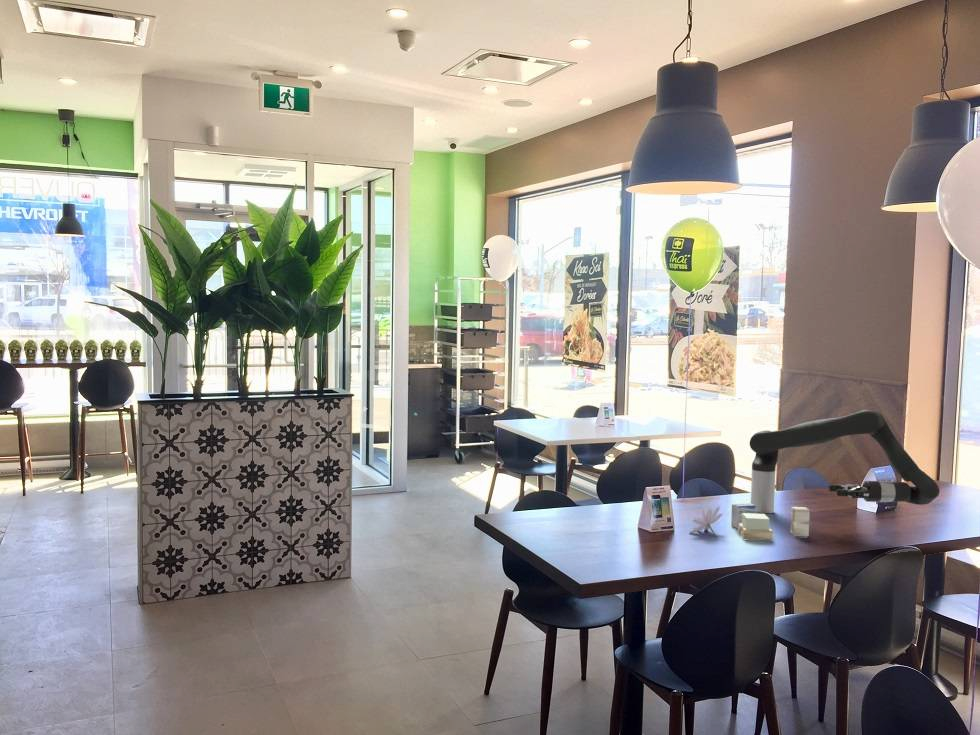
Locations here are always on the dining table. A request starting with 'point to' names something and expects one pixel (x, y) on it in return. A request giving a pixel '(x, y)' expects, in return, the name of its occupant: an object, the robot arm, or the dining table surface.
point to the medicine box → (739, 509)
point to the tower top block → (755, 521)
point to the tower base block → (755, 533)
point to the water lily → (706, 520)
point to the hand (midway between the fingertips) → (833, 490)
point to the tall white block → (800, 521)
